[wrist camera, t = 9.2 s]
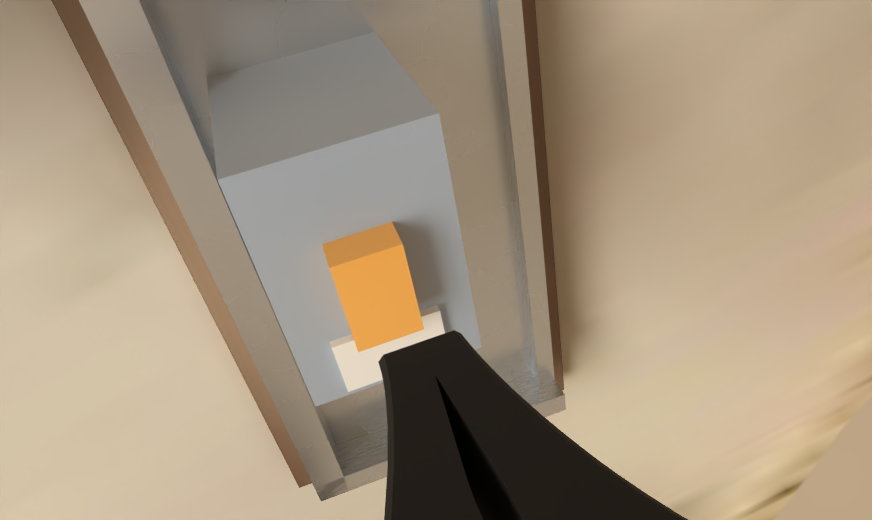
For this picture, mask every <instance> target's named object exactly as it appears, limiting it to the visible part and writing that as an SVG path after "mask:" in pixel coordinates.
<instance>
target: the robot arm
mask: <svg viewBox="0 0 872 520" xmlns="http://www.w3.org/2000/svg"><path fill="white" fill-rule="evenodd" d="M378 363H379V366H380V369H381V373H382V378H383V384H384V390H385V398H386V411H387V445H388V467H387V488H386V503H385V518H384V520H688V519H686V518H684V517H682V516H681V515H679V514H677V513H676V512H674V511H673V510H671V509H669V508H668V507H666V506H665V505H663V504H662V503H660V502H658V501H657V500H655V499H654V498H652V497H651V496H649V495H648V494H646V493H644V492H643V491H641V490H640V489H638V488H637V487H636V486H634V485H633V484H631V483H630V482H628V481H627V480H625V479H624V478H622V477H621V476H619V475H618V474H617V473H615V472H614V471H612V470H611V469H610V468H608V467H607V466H605V465H604V464H603V463H601V462H600V461H599V460H597V459H596V458H595V457H593V456H592V455H591V454H589V453H588V452H587V451H585V450H584V449H583V448H582V447H580V446H579V445H578V444H576V443H575V442H574V441H573V440H571V439H570V438H569V437H568V436H566V435H565V434H564V433H563V432H561V431H560V430H559V429H558V428H557V427H555V426H554V425H553V424H552V423H551V422H549V421H548V420H547V419H546V418H545V417H544V416H542V415H541V414H540V413H539V412H538V411H537V410H536V409H535V408H533V407H532V406H531V405H530V404H529V403H528V402H527V401H526V400H524V399H523V398H522V397H521V396H520V395H519V394H518V393H517V392H516V391H515V390H514V389H512V388H511V387H510V386H509V385H508V384H507V383H506V382H505V381H504V380H503V379H502V378H501V377H500V376H499V375H498V374H497V373H496V372H495V371H494V370H493V369H492V368H491V367H490V366H489V365H488V364H487V363H486V362H485V360H484V359H483V358H482V357H481V356H480V355H479V354H478V353H477V352H476V351H475V349H474V348H473V347H472V346H471V345H470V344H469V342H468V341H467V340H466V339H465V338H464V336H463V335H462V334H461V333H459V332H457V331H455V330H453V331H450V332H447V333H445V334H442V335H439V336H436V337H433V338H430V339H427V340H424V341H421V342H419V343H416V344H413V345H410V346H407V347H404V348H401V349H398V350H396V351H393V352H390V353H387V354H384V355H383V356H382V357H381V359H380V360H379V362H378Z"/></svg>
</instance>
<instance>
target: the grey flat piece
mask: <svg viewBox="0 0 872 520" xmlns="http://www.w3.org/2000/svg"><path fill="white" fill-rule="evenodd" d="M79 2H80V4H81V6H82V8H83V10H84V12H85V14H86V16H87V18H88V20H89V23H90V25H91V27H92V29H93V31H94V33H95V35H96V37H97V39H98V41H99V43H100V45H101V47H102V49H103V51H104V54H105V56H106V58H107V60H108V62H109V64H110V66H111V68H112V70H113V72H114V74H115V76H116V78H117V80H118V82H119V84H120V87H121V89H122V91H123V93H124V95H125V97H126V99H127V101H128V103H129V105H130V107H131V109H132V111H133V113H134V115H135V118H136V120H137V122H138V124H139V126H140V128H141V130H142V132H143V134H144V136H145V138H146V140H147V142H148V144H149V146H150V149H151V151H152V153H153V155H154V157H155V159H156V161H157V163H158V165H159V167H160V169H161V171H162V173H163V175H164V177H165V180H166V182H167V184H168V186H169V188H170V190H171V192H172V194H173V196H174V198H175V200H176V202H177V204H178V206H179V208H180V211H181V213H182V215H183V217H184V219H185V221H186V223H187V225H188V227H189V229H190V231H191V233H192V235H193V237H194V239H195V241H196V244H197V246H198V248H199V250H200V252H201V254H202V256H203V258H204V260H205V262H206V264H207V266H208V268H209V270H210V272H211V275H212V277H213V279H214V281H215V283H216V285H217V287H218V289H219V291H220V293H221V295H222V297H223V299H224V301H225V303H226V306H227V308H228V310H229V312H230V314H231V316H232V318H233V320H234V322H235V324H236V326H237V328H238V330H239V332H240V334H241V337H242V339H243V341H244V343H245V345H246V347H247V349H248V351H249V353H250V355H251V357H252V359H253V361H254V363H255V365H256V367H257V370H258V372H259V374H260V376H261V378H262V380H263V382H264V384H265V386H266V388H267V390H268V392H269V394H270V396H271V398H272V401H273V403H274V405H275V407H276V409H277V411H278V413H279V415H280V417H281V419H282V421H283V423H284V425H285V427H286V429H287V432H288V434H289V436H290V438H291V440H292V442H293V444H294V446H295V448H296V450H297V452H298V454H299V456H300V458H301V460H302V463H303V465H304V467H305V469H306V471H307V473H308V475H309V477H310V479H311V481H312V483H313V485H314V487H315V489H316V491H317V494H318V496H319V498H320V500H321V501H323V500H326V499H329V498H331V497H334V496H337V495H339V494H342V493H345V492H347V491H350V490H352V489H355V488H358V487H360V486H363V485H366V484H368V483H371V482H374V481H376V480H379V479H382V478H384V477H387V467H388V445H387V411H386V398H385V390H384V384H383V383H381V384H378V385H375V386H372V387H369V388H367V389H364V390H361V391H358V392H355V393H353V394H350V395H347V396H344V397H341V398H339V399H336V400H333V401H330V402H327V403H325V404H322V405H319V406H316V407H315V404H314V402H313V400H312V398H311V395H310V393H309V391H308V388H307V386H306V384H305V381H304V379H303V377H302V374H301V372H300V370H299V367H298V365H297V363H296V360H295V358H294V356H293V354H292V351H291V349H290V347H289V344H288V342H287V340H286V337H285V335H284V333H283V330H282V328H281V326H280V323H279V321H278V319H277V317H276V314H275V312H274V310H273V307H272V305H271V303H270V300H269V298H268V296H267V293H266V291H265V289H264V286H263V284H262V282H261V279H260V277H259V275H258V273H257V270H256V268H255V266H254V263H253V261H252V259H251V256H250V254H249V252H248V249H247V247H246V245H245V242H244V240H243V238H242V235H241V233H240V231H239V229H238V226H237V224H236V222H235V219H234V217H233V215H232V212H231V210H230V208H229V205H228V203H227V201H226V198H225V196H224V194H223V192H222V189H221V187H220V185H219V182H218V180H217V170H216V161H215V151H214V142H213V132H212V123H211V114H210V104H209V95H208V85H207V79H208V78H212V77H215V76H219V75H222V74H226V73H229V72H233V71H236V70H240V69H244V68H247V67H251V66H254V65H258V64H261V63H265V62H269V61H272V60H276V59H279V58H283V57H286V56H290V55H294V54H297V53H301V52H304V51H308V50H311V49H315V48H318V47H322V46H326V45H329V44H333V43H336V42H340V41H343V40H347V39H351V38H354V37H358V36H361V35H365V34H368V33H372V32H375V33H376V34H377V35H378V37H379V38H380V39H381V40H382V42H383V43H384V44H385V46H386V47H387V48H388V49H389V51H390V52H391V53H392V54H393V56H394V57H395V58H396V59H397V61H398V62H399V63H400V64H401V66H402V67H403V68H404V69H405V71H406V72H407V73H408V74H409V76H410V77H411V78H412V80H413V81H414V82H415V83H416V85H417V86H418V87H419V88H420V90H421V91H422V92H423V93H424V95H425V96H426V97H427V98H428V100H429V101H430V102H431V103H432V105H433V106H434V107H435V108H436V110H437V111H438V112H439V115H440V121H441V126H442V132H443V137H444V143H445V148H446V154H447V159H448V165H449V170H450V176H451V181H452V187H453V192H454V198H455V203H456V209H457V214H458V220H459V225H460V231H461V236H462V242H463V247H464V253H465V258H466V264H467V269H468V275H469V280H470V286H471V291H472V297H473V302H474V308H475V313H476V319H477V324H478V330H479V335H480V341H481V346H482V347H481V348H479V349H476V350H475V351H476V352H477V353H478V354H479V355H480V356H481V357H482V358H483V359H484V360H485V362H486V363H487V364H488V365H489V366H490V367H491V368H492V369H493V370H494V371H495V372H496V373H497V374H498V375H499V376H500V377H501V378H502V379H503V380H504V381H505V382H506V383H507V384H508V385H509V386H510V387H511V388H512V389H514V390H515V391H516V392H517V393H518V394H519V395H520V396H521V397H522V398H523V399H524V400H526V401H527V402H528V403H529V404H530V405H531V406H532V407H533V408H535V409H536V410H537V411H538V412H539V413H540V414H541V415H542V416H544V417H547V416H549V415H552V414H555V413H557V412H560V411H563V410H565V409H566V406H565V394H564V393H563V391H562V390H561V388H560V387H559V385H558V383H557V382H556V380H555V378H554V366H553V355H552V343H551V332H550V320H549V309H548V297H547V286H546V274H545V263H544V252H543V240H542V229H541V217H540V206H539V194H538V183H537V171H536V160H535V148H534V137H533V125H532V114H531V102H530V91H529V79H528V68H527V56H526V45H525V33H524V22H523V10H522V0H79Z"/></svg>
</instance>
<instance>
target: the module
mask: <svg viewBox="0 0 872 520" xmlns="http://www.w3.org/2000/svg"><path fill="white" fill-rule="evenodd" d="M207 85H208V95H209V104H210V114H211V123H212V132H213V142H214V151H215V161H216V170H217V180H218V182H219V185H220V187H221V189H222V192H223V194H224V196H225V198H226V201H227V203H228V205H229V208H230V210H231V212H232V215H233V217H234V219H235V222H236V224H237V226H238V229H239V231H240V233H241V235H242V238H243V240H244V242H245V245H246V247H247V249H248V252H249V254H250V256H251V259H252V261H253V263H254V266H255V268H256V270H257V273H258V275H259V277H260V279H261V282H262V284H263V286H264V289H265V291H266V293H267V296H268V298H269V300H270V303H271V305H272V307H273V310H274V312H275V314H276V317H277V319H278V321H279V323H280V326H281V328H282V330H283V333H284V335H285V337H286V340H287V342H288V344H289V347H290V349H291V351H292V354H293V356H294V358H295V360H296V363H297V365H298V367H299V370H300V372H301V374H302V377H303V379H304V381H305V384H306V386H307V388H308V391H309V393H310V395H311V398H312V400H313V402H314V404H315V407H316V406H319V405H322V404H325V403H327V402H330V401H333V400H336V399H339V398H341V397H344V396H347V395H350V394H353V393H355V392H358V391H361V390H364V389H367V388H369V387H372V386H375V385H378V384H381V383H383V378H382V373H381V369H380V366H379V363H378V362H379V360H380V359H381V357H382V356H383V355H384V354H387V353H390V352H393V351H396V350H398V349H401V348H404V347H407V346H410V345H413V344H416V343H419V342H421V341H424V340H427V339H430V338H433V337H436V336H439V335H442V334H445V333H447V332H450V331H453V330H455V331H457V332H459V333H461V334H462V335H463V336H464V338H465V339H466V340H467V341H468V342H469V344H470V345H471V346H472V347H473V348H474V349H475V350H476V349H479V348H481V347H482V346H481V341H480V335H479V330H478V324H477V319H476V313H475V308H474V302H473V297H472V291H471V286H470V280H469V275H468V269H467V264H466V258H465V253H464V247H463V242H462V236H461V231H460V225H459V220H458V214H457V209H456V203H455V198H454V192H453V187H452V181H451V176H450V170H449V165H448V159H447V154H446V148H445V143H444V137H443V132H442V126H441V121H440V115H439V112H438V111H437V110H436V108H435V107H434V106H433V105H432V103H431V102H430V101H429V100H428V98H427V97H426V96H425V95H424V93H423V92H422V91H421V90H420V88H419V87H418V86H417V85H416V83H415V82H414V81H413V80H412V78H411V77H410V76H409V74H408V73H407V72H406V71H405V69H404V68H403V67H402V66H401V64H400V63H399V62H398V61H397V59H396V58H395V57H394V56H393V54H392V53H391V52H390V51H389V49H388V48H387V47H386V46H385V44H384V43H383V42H382V40H381V39H380V38H379V37H378V35H377V34H376V33H375V32H372V33H368V34H365V35H361V36H358V37H354V38H351V39H347V40H343V41H340V42H336V43H333V44H329V45H326V46H322V47H318V48H315V49H311V50H308V51H304V52H301V53H297V54H294V55H290V56H286V57H283V58H279V59H276V60H272V61H269V62H265V63H261V64H258V65H254V66H251V67H247V68H244V69H240V70H236V71H233V72H229V73H226V74H222V75H219V76H215V77H212V78H208V79H207Z"/></svg>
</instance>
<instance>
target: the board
mask: <svg viewBox="0 0 872 520" xmlns="http://www.w3.org/2000/svg"><path fill="white" fill-rule="evenodd" d="M52 2H53V4H54V6H55V8H56V10H57V12H58V14H59V16H60V18H61V20H62V22H63V24H64V26H65V28H66V29H67V31H68V33H69V35H70V37H71V39H72V41H73V43H74V45H75V47H76V49H77V51H78V53H79V55H80V57H81V59H82V61H83V63H84V65H85V67H86V69H87V71H88V73H89V75H90V77H91V79H92V81H93V83H94V85H95V87H96V88H97V90H98V92H99V94H100V96H101V98H102V100H103V102H104V104H105V106H106V108H107V110H108V112H109V114H110V116H111V118H112V120H113V122H114V124H115V126H116V128H117V130H118V132H119V134H120V136H121V138H122V140H123V142H124V144H125V146H126V148H127V149H128V151H129V153H130V155H131V157H132V159H133V161H134V163H135V165H136V167H137V169H138V171H139V173H140V175H141V177H142V179H143V181H144V183H145V185H146V187H147V189H148V191H149V193H150V195H151V197H152V199H153V201H154V203H155V205H156V207H157V208H158V210H159V212H160V214H161V216H162V218H163V220H164V222H165V224H166V226H167V228H168V230H169V232H170V234H171V236H172V238H173V240H174V242H175V244H176V246H177V248H178V250H179V252H180V254H181V256H182V258H183V260H184V262H185V264H186V266H187V268H188V269H189V271H190V273H191V275H192V277H193V279H194V281H195V283H196V285H197V287H198V289H199V291H200V293H201V295H202V297H203V299H204V301H205V303H206V305H207V307H208V309H209V311H210V313H211V315H212V317H213V319H214V321H215V323H216V325H217V327H218V328H219V330H220V332H221V334H222V336H223V338H224V340H225V342H226V344H227V346H228V348H229V350H230V352H231V354H232V356H233V358H234V360H235V362H236V364H237V366H238V368H239V370H240V372H241V374H242V376H243V378H244V380H245V382H246V384H247V386H248V387H249V389H250V391H251V393H252V395H253V397H254V399H255V401H256V403H257V405H258V407H259V409H260V411H261V413H262V415H263V417H264V419H265V421H266V423H267V425H268V427H269V429H270V431H271V433H272V435H273V437H274V439H275V441H276V443H277V445H278V447H279V448H280V450H281V452H282V454H283V456H284V458H285V460H286V462H287V464H288V466H289V468H290V470H291V472H292V474H293V476H294V478H295V480H296V482H297V484H298V486H299V488H300V487H303V486H305V485H308V484H311V483H312V481H311V479H310V477H309V475H308V473H307V471H306V469H305V467H304V465H303V463H302V460H301V458H300V456H299V454H298V452H297V450H296V448H295V446H294V444H293V442H292V440H291V438H290V436H289V434H288V432H287V429H286V427H285V425H284V423H283V421H282V419H281V417H280V415H279V413H278V411H277V409H276V407H275V405H274V403H273V401H272V398H271V396H270V394H269V392H268V390H267V388H266V386H265V384H264V382H263V380H262V378H261V376H260V374H259V372H258V370H257V367H256V365H255V363H254V361H253V359H252V357H251V355H250V353H249V351H248V349H247V347H246V345H245V343H244V341H243V339H242V337H241V334H240V332H239V330H238V328H237V326H236V324H235V322H234V320H233V318H232V316H231V314H230V312H229V310H228V308H227V306H226V303H225V301H224V299H223V297H222V295H221V293H220V291H219V289H218V287H217V285H216V283H215V281H214V279H213V277H212V275H211V272H210V270H209V268H208V266H207V264H206V262H205V260H204V258H203V256H202V254H201V252H200V250H199V248H198V246H197V244H196V241H195V239H194V237H193V235H192V233H191V231H190V229H189V227H188V225H187V223H186V221H185V219H184V217H183V215H182V213H181V211H180V208H179V206H178V204H177V202H176V200H175V198H174V196H173V194H172V192H171V190H170V188H169V186H168V184H167V182H166V180H165V177H164V175H163V173H162V171H161V169H160V167H159V165H158V163H157V161H156V159H155V157H154V155H153V153H152V151H151V149H150V146H149V144H148V142H147V140H146V138H145V136H144V134H143V132H142V130H141V128H140V126H139V124H138V122H137V120H136V118H135V115H134V113H133V111H132V109H131V107H130V105H129V103H128V101H127V99H126V97H125V95H124V93H123V91H122V89H121V87H120V84H119V82H118V80H117V78H116V76H115V74H114V72H113V70H112V68H111V66H110V64H109V62H108V60H107V58H106V56H105V54H104V51H103V49H102V47H101V45H100V43H99V41H98V39H97V37H96V35H95V33H94V31H93V29H92V27H91V25H90V23H89V20H88V18H87V16H86V14H85V12H84V10H83V8H82V6H81V4H80V2H79V0H52ZM522 10H523V22H524V33H525V45H526V56H527V68H528V79H529V91H530V102H531V114H532V125H533V137H534V148H535V160H536V171H537V183H538V194H539V206H540V217H541V229H542V240H543V252H544V263H545V274H546V286H547V297H548V309H549V320H550V332H551V343H552V355H553V366H554V378H555V380H556V382H557V383H558V385H559V387H560V388H561V390H564V383H563V369H562V356H561V343H560V330H559V316H558V303H557V290H556V277H555V263H554V250H553V237H552V224H551V210H550V197H549V184H548V171H547V157H546V144H545V131H544V118H543V104H542V91H541V78H540V65H539V51H538V38H537V25H536V11H535V0H522Z"/></svg>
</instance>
